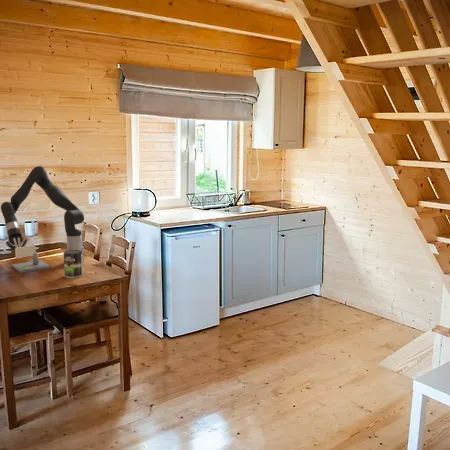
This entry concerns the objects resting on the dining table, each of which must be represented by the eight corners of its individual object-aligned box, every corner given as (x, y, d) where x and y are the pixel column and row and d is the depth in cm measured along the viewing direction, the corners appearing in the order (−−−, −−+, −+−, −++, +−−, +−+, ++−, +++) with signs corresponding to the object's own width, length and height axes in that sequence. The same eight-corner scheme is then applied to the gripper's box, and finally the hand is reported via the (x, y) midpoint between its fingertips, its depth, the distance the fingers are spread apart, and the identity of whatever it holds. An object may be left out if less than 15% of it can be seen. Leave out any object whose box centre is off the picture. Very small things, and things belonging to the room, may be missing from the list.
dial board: (42, 262, 324) (42, 260, 323) (50, 268, 309) (50, 265, 309) (12, 266, 313) (12, 264, 313) (19, 272, 299) (19, 270, 299)
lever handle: (36, 262, 316) (35, 244, 314) (39, 263, 314) (38, 245, 312) (15, 266, 306) (14, 247, 304) (18, 267, 304) (16, 248, 302)
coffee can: (77, 278, 287) (76, 254, 285) (61, 277, 290) (59, 253, 287) (86, 273, 297) (85, 250, 295) (70, 272, 300) (69, 249, 297)
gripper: (23, 233, 321) (30, 256, 313) (1, 235, 313) (7, 259, 305) (25, 226, 315) (32, 249, 308) (2, 228, 308) (8, 252, 300)
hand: (19, 254), depth 307 cm, fingers closed
